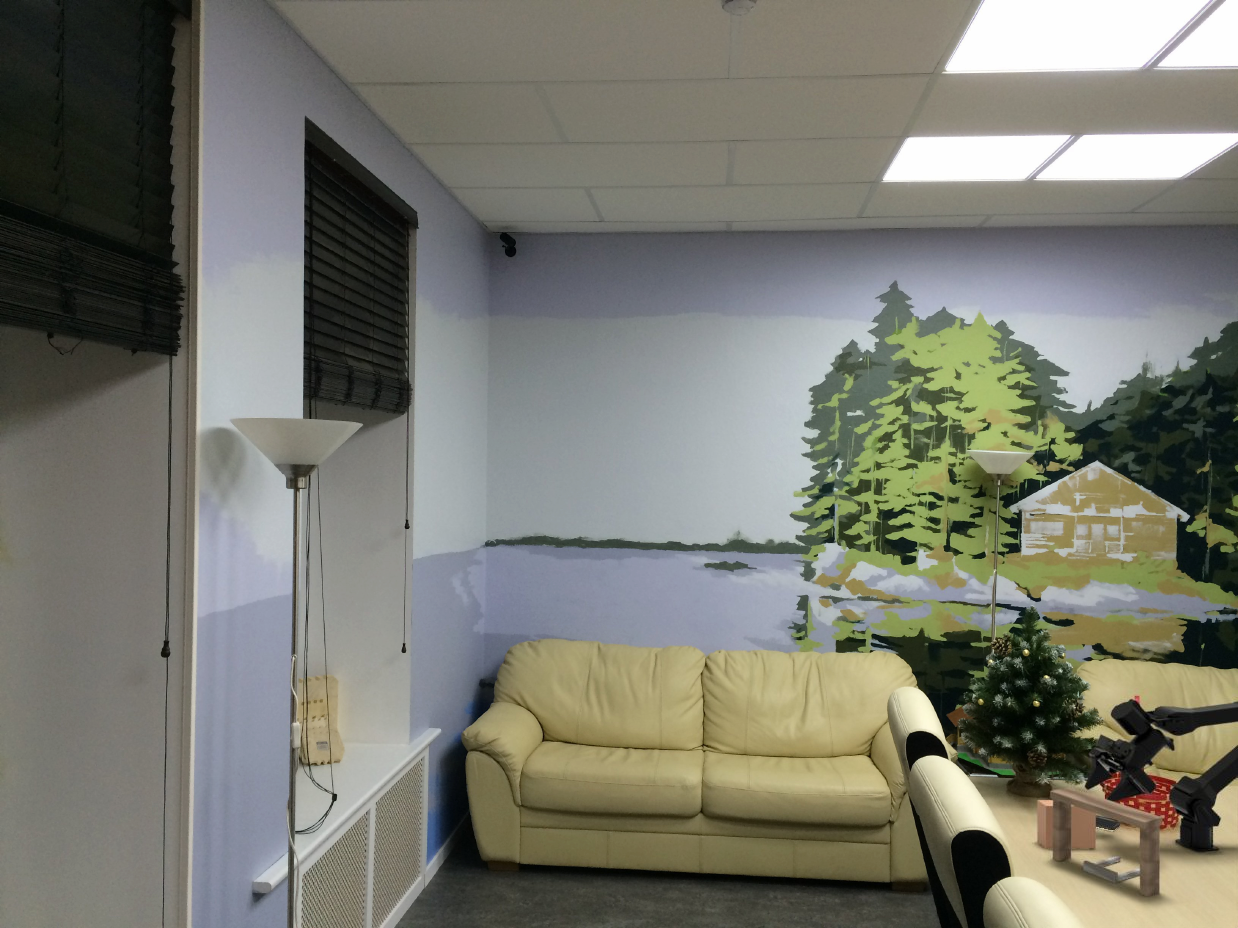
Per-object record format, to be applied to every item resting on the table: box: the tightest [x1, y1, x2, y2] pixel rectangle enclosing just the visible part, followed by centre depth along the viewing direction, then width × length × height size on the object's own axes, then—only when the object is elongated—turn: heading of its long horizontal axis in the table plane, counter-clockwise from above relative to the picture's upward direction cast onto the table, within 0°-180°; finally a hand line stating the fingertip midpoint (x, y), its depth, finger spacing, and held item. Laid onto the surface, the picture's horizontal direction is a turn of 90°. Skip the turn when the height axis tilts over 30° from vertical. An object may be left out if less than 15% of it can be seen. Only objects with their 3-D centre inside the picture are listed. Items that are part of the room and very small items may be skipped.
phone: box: [1096, 814, 1122, 831], centre depth 229 cm, size 8×1×15 cm
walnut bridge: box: [1049, 786, 1163, 898], centre depth 197 cm, size 14×22×16 cm, turn 29°
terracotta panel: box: [1036, 799, 1097, 850], centre depth 212 cm, size 12×4×10 cm, turn 92°
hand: (1096, 794), depth 212 cm, fingers open, 9 cm apart
